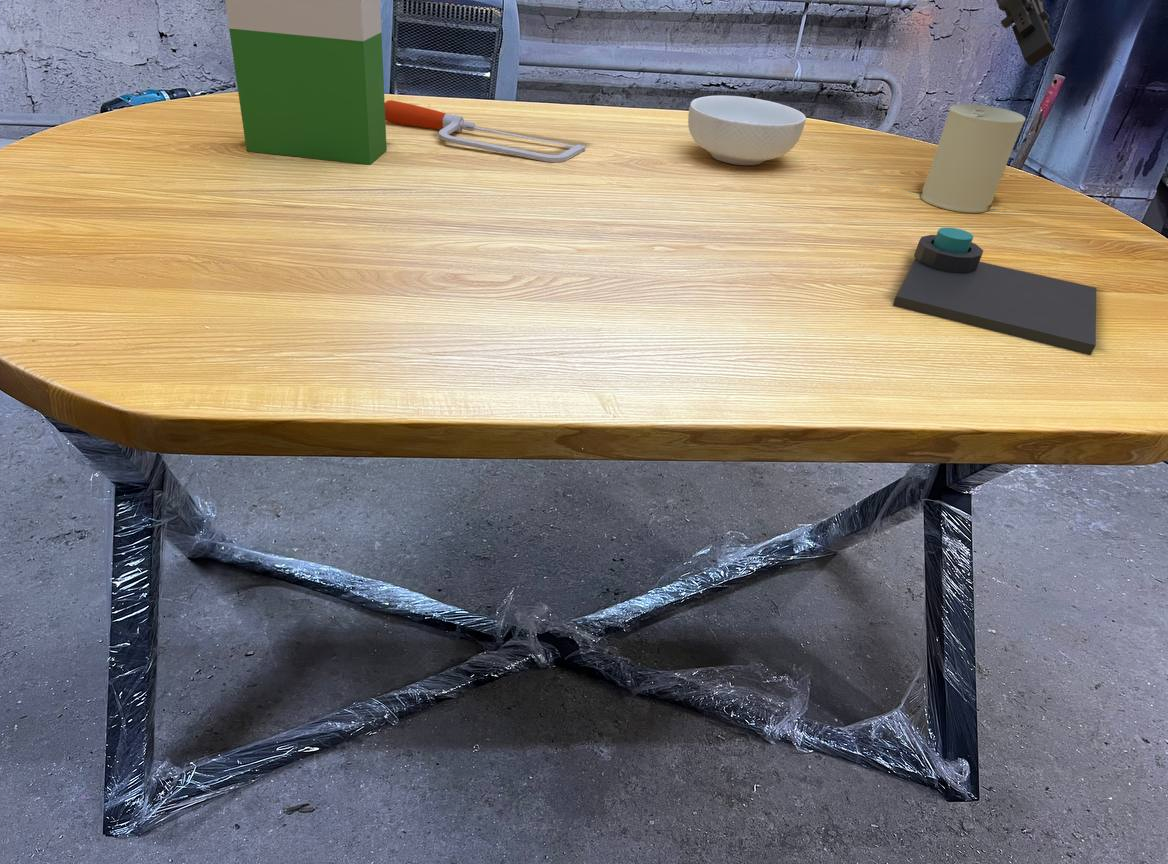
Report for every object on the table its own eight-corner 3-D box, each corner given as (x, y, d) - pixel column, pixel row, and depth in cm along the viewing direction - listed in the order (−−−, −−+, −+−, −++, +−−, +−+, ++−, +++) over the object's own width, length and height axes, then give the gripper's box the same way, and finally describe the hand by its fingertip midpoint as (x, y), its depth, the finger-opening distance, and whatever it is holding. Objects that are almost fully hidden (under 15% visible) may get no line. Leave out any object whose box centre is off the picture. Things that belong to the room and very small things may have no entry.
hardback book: (246, 151, 113) (217, -56, 99) (268, 137, 119) (244, -60, 105) (370, 164, 112) (358, -44, 97) (386, 150, 118) (377, -49, 103)
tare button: (969, 247, 91) (975, 232, 90) (965, 257, 89) (971, 241, 88) (935, 240, 92) (940, 224, 91) (930, 249, 90) (936, 234, 89)
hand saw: (589, 134, 123) (571, 152, 115) (586, 156, 125) (568, 175, 117) (389, 97, 129) (360, 112, 122) (389, 118, 131) (361, 134, 123)
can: (907, 198, 113) (938, 104, 106) (938, 186, 118) (970, 97, 111) (972, 218, 108) (1009, 121, 101) (1002, 205, 113) (1039, 112, 106)
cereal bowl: (729, 180, 115) (740, 126, 111) (660, 147, 127) (667, 98, 123) (818, 168, 122) (831, 118, 118) (745, 139, 134) (754, 92, 129)
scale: (1091, 295, 89) (1104, 269, 87) (1090, 356, 77) (1105, 327, 75) (915, 255, 96) (924, 230, 94) (889, 306, 84) (899, 278, 82)
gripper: (992, 0, 113) (1033, 109, 101) (940, -64, 106) (977, 44, 95) (1050, -44, 108) (1100, 65, 96) (998, -115, 101) (1046, -8, 89)
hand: (1039, 54), depth 95 cm, fingers closed
